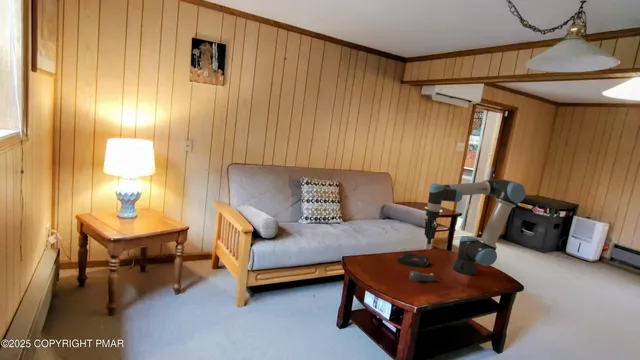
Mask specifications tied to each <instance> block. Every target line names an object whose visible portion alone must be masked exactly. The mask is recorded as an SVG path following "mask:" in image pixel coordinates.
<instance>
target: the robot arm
mask: <svg viewBox="0 0 640 360" xmlns="http://www.w3.org/2000/svg"><path fill="white" fill-rule="evenodd" d="M428 191H429V193H428V199H427V200H428V201H427V203H426V211H425V216H426V217H427V218H425V219H424V236H425V241H424V243H425V244H424V249H425V250H431V245H432V240H434V239H435V235H436V232H437V229H438V226H439V224H438V223H437V219H438V218H440V213H441V212H440V211H441V207H442V203H443V202H453V203H458V202H461V201H462V200H463V196H472V195H475V196H476V195H484V196H492V197H495V201H496V204H495V206H494V209H493V211H492V212H491V215H490V218H489V219H488V222H487V223H486V226H485V228H484V230H483V233H482V235H481V237H475V236H470V235H469V236H468V235H463V236H461V237H460V238H459V239H460V240H459V245H458V248H457V249H458V251H457V254H456V255H457V257H456V259H455V260H454V263H453V264H452V266H451V268H452V270H453V271H455V272H456V273H459V274H464V275H467V276H475V275H477V274H478V266H477V265H481V266H482V267H489V266H491V265H493V264H494V263H496V260H497V259H498V254H497V249H498V248H497V245H496V243H497V241H498V239H499V237H500V235H501V233H502V231H503V228H504V226H505V224H506V222H507V219H508V217H509V215H510V213H511V211H512V208H515V207H516V206H517V204H518V203H521V202H522V201H524V199H526V198H525V197H526V193H527V192H526V189H525V186H524V185H523V184H521V183H519V182H517V181H512V180H508V179H503V178H497V179H486V180H482V181H480V182H466V183H465V182H464V183H451V184H441V183H431V184H430V187H429V190H428Z"/></svg>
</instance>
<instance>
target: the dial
mask: <svg viewBox="0 0 640 360" xmlns="http://www.w3.org/2000/svg"><path fill="white" fill-rule="evenodd" d="M408 276H409V277H408V280H409V281H410V282H414V283H420V282H434V279H435V275H434V273H432V272H431V273H421V272H419V271H416V270H411V271H410V272H409V275H408Z"/></svg>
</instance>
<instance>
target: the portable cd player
mask: <svg viewBox="0 0 640 360" xmlns="http://www.w3.org/2000/svg"><path fill="white" fill-rule="evenodd" d="M396 263H398V264H400V265H404V266H407V267H411V268H422V269H423V268H424V269H425V268H426V267H428V265H429V264H430V263H431V259H430V258H429V257H426V256H424V255H423V256H422V255H419V254H416V253H412V252H409V251H405V252H404V253H402V254H401V255H400V256H398V257H397V262H396Z"/></svg>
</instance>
